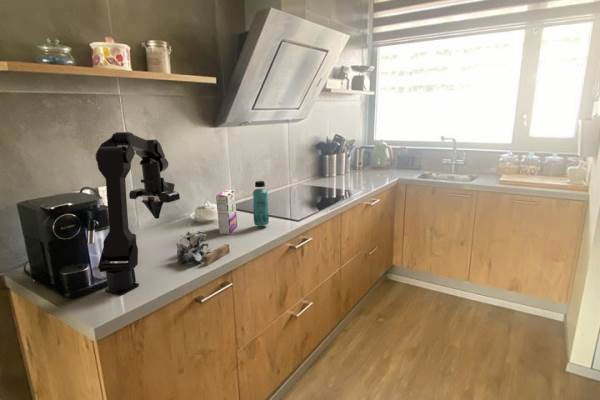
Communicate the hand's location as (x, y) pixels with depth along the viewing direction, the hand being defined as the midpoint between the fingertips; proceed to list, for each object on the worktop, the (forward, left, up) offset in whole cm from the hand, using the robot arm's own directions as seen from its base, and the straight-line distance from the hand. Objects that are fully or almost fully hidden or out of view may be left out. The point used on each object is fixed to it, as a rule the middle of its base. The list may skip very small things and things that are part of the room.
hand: (157, 218), depth 130 cm
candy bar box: (+27, -11, -12) cm, 31 cm away
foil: (-2, -18, -12) cm, 22 cm away
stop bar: (0, -26, -12) cm, 28 cm away
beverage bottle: (+36, -22, -12) cm, 44 cm away
